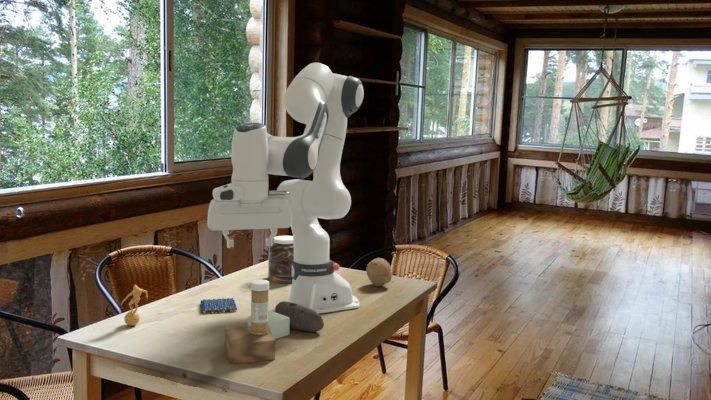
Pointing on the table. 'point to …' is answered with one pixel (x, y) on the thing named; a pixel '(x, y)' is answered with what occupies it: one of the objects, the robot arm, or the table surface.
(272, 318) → the grey-green block
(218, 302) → the woven mat
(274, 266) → the jar
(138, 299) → the figurine
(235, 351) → the walnut block
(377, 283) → the natural sponge
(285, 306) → the perforated stone tool
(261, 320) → the sprinkles bottle
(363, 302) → the table surface
